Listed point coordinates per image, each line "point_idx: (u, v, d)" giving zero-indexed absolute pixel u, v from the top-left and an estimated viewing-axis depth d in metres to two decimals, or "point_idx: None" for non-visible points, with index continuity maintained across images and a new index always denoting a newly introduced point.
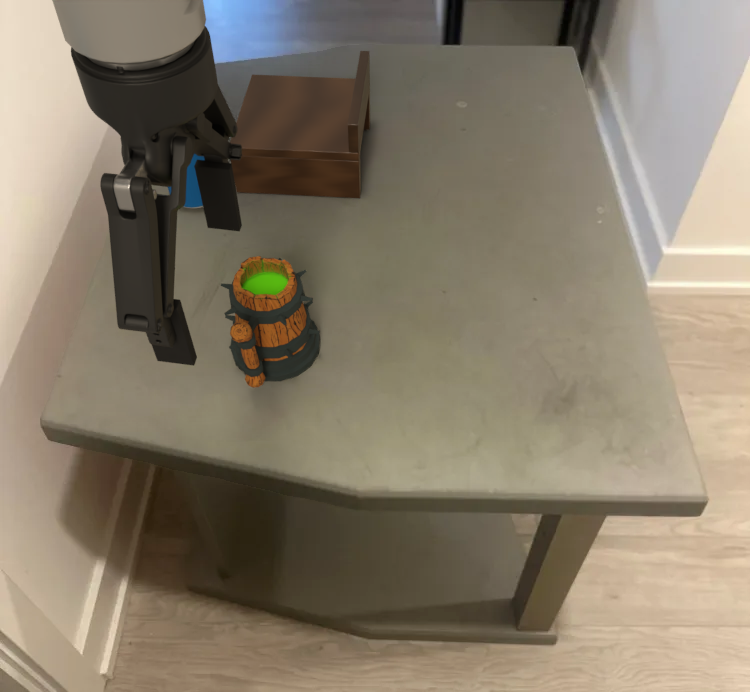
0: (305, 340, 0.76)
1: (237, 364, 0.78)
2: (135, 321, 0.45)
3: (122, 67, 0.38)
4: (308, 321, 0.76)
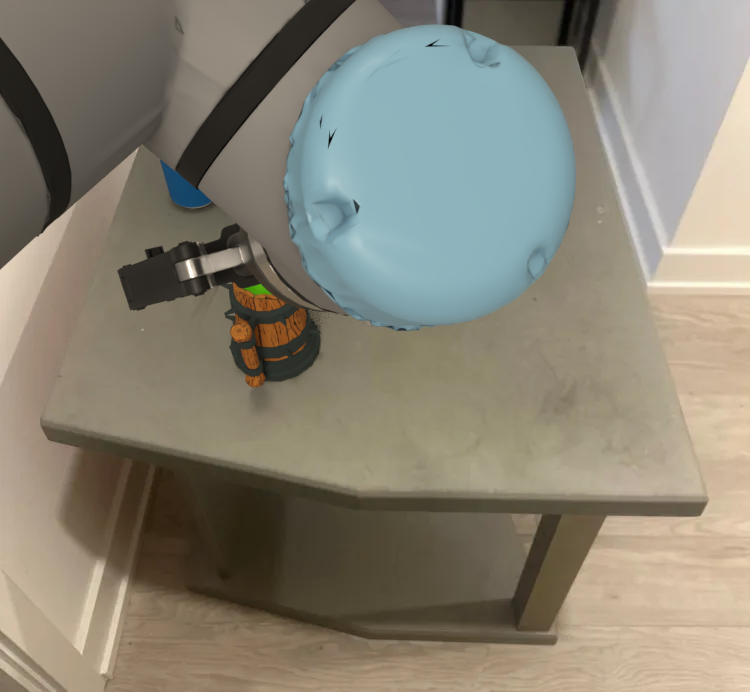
0: (305, 340, 0.76)
1: (237, 364, 0.78)
2: (127, 287, 0.43)
3: None
4: (308, 321, 0.76)
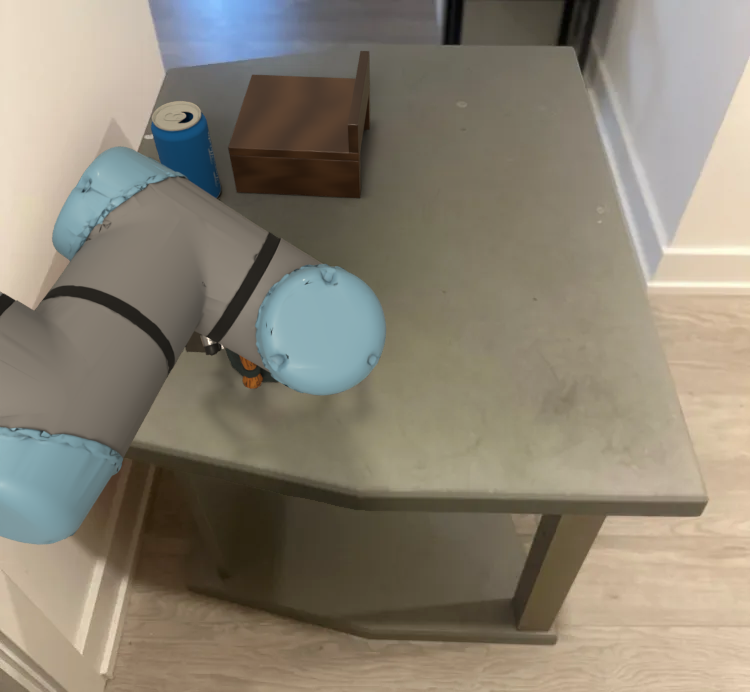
0: None
1: (233, 366, 0.77)
2: None
3: None
4: None
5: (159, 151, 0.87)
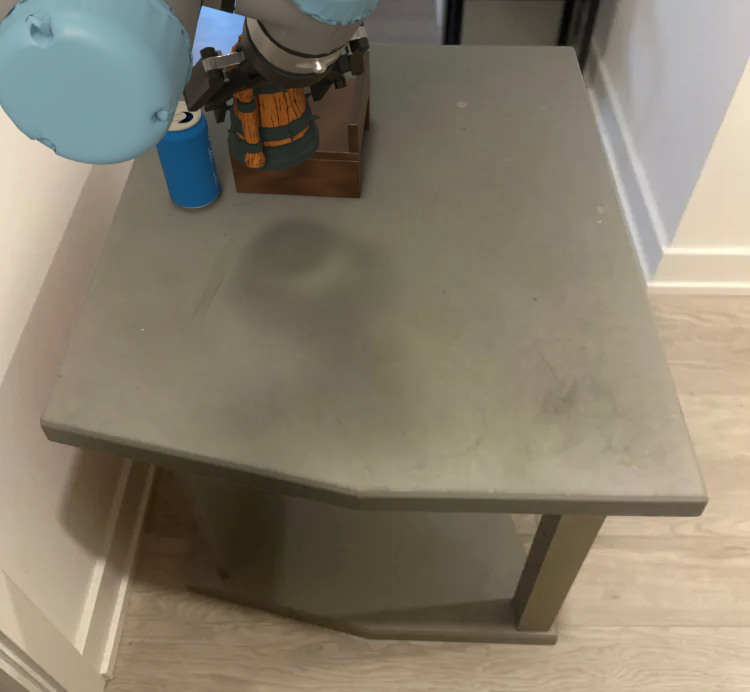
0: (305, 125, 0.74)
1: (235, 156, 0.75)
2: (186, 94, 0.66)
3: None
4: (308, 107, 0.74)
5: (159, 151, 0.87)
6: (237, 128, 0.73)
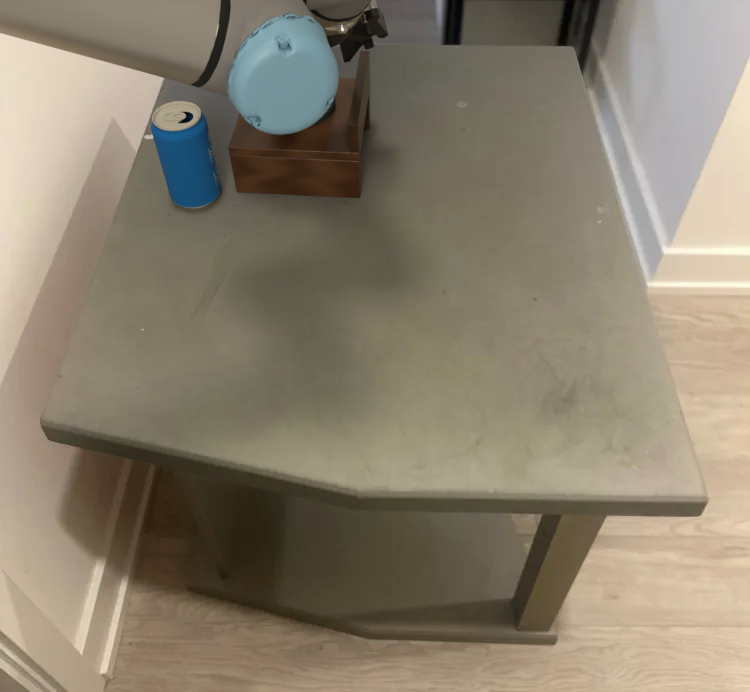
0: None
1: None
2: None
3: None
4: None
5: (159, 151, 0.87)
6: None
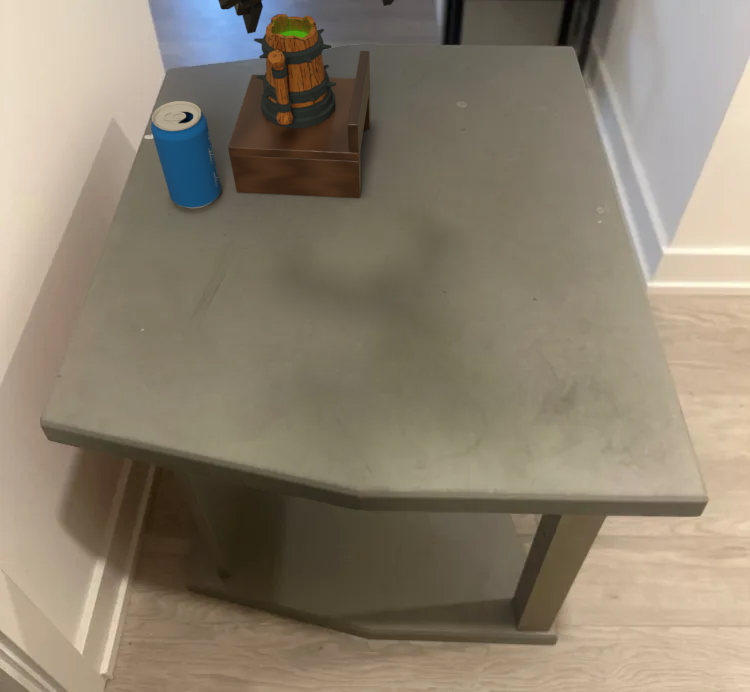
0: (324, 90, 0.91)
1: (267, 116, 0.93)
2: None
3: None
4: (326, 76, 0.92)
5: (159, 151, 0.87)
6: (270, 93, 0.90)
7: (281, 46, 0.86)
